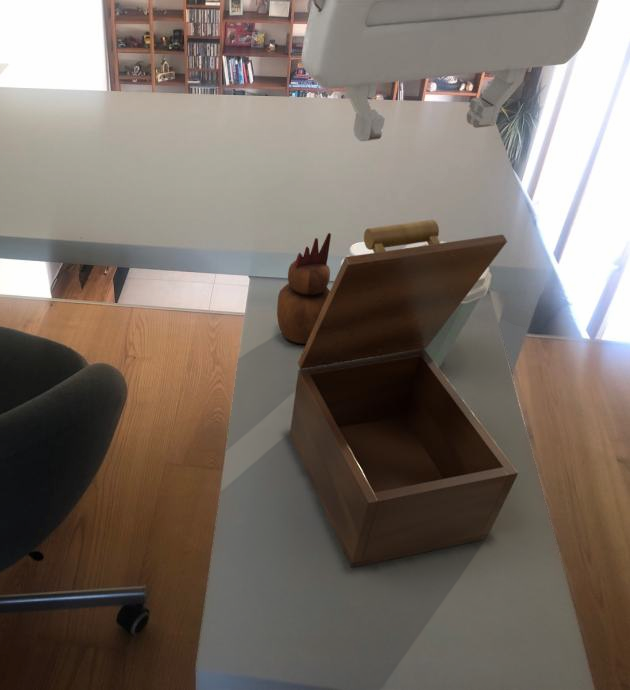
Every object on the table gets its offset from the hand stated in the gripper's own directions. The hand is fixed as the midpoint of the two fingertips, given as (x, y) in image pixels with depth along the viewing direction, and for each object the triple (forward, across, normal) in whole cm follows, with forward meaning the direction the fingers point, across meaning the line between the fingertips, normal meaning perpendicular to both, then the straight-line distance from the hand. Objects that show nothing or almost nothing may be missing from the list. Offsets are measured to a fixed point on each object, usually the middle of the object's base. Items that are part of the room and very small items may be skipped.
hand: (423, 130), depth 53 cm
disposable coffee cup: (+35, +13, +10) cm, 39 cm away
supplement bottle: (+35, +9, +20) cm, 42 cm away
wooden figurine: (+35, 0, +18) cm, 40 cm away
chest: (+35, 0, -7) cm, 36 cm away
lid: (+17, 0, -2) cm, 17 cm away
